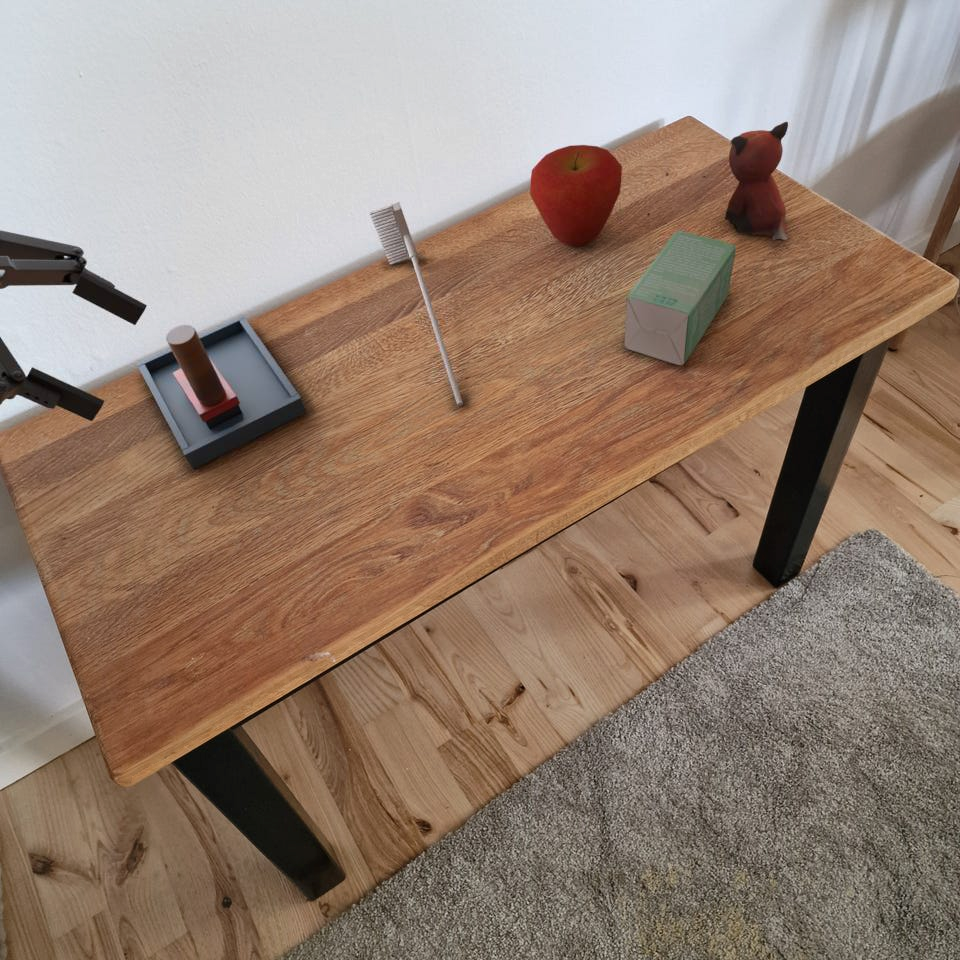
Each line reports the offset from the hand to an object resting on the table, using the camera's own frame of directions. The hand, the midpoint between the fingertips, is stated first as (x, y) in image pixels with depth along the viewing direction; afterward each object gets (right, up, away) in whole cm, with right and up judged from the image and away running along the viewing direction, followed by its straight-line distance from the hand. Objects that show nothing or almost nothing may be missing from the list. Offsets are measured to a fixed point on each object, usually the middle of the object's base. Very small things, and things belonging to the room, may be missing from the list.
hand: (121, 361), depth 81 cm
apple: (+48, +19, +25) cm, 57 cm away
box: (+58, +6, +14) cm, 60 cm away
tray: (+6, -2, +14) cm, 15 cm away
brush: (+29, +7, +18) cm, 35 cm away
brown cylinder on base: (+5, -3, +12) cm, 13 cm away
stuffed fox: (+70, +20, +23) cm, 76 cm away
